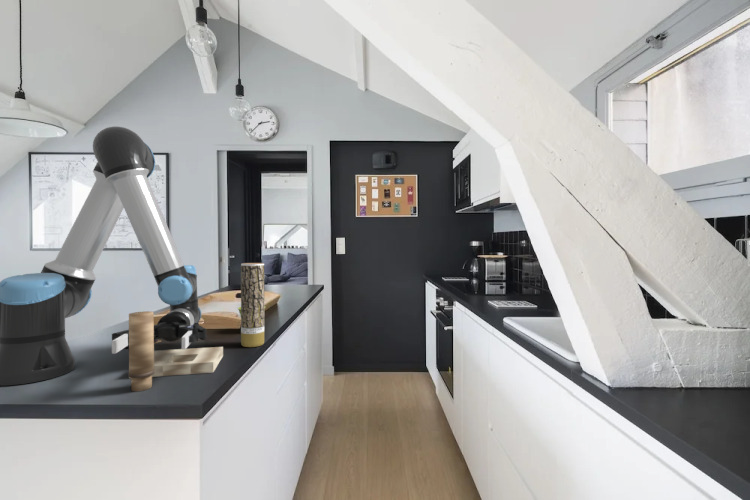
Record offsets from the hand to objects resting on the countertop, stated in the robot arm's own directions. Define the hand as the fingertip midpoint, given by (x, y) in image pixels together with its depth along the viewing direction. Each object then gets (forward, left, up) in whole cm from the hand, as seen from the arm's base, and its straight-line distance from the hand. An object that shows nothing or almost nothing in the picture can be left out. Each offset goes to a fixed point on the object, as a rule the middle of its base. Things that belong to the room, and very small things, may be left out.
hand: (149, 345), depth 82 cm
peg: (-1, -1, -9) cm, 9 cm away
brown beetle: (-16, +39, -9) cm, 43 cm away
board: (+3, +13, -9) cm, 16 cm away
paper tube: (+19, +30, -9) cm, 36 cm away
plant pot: (+17, +49, -9) cm, 52 cm away
